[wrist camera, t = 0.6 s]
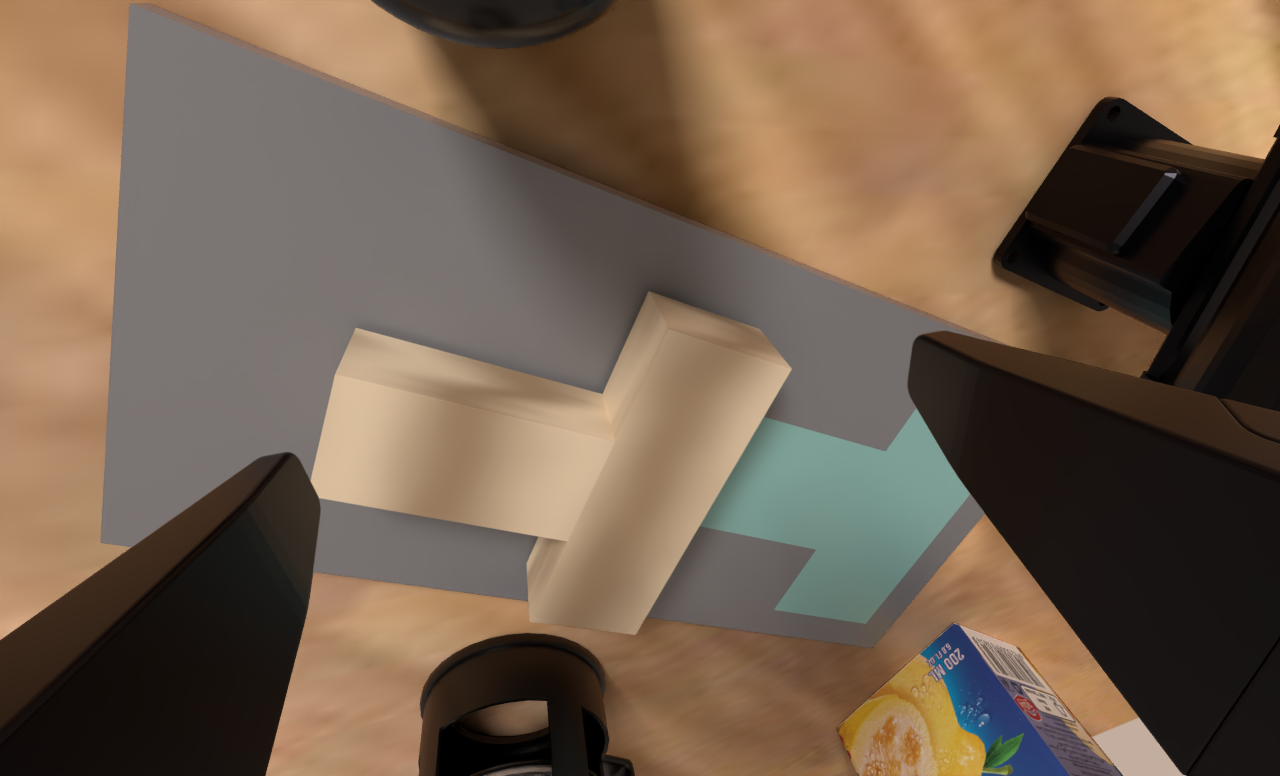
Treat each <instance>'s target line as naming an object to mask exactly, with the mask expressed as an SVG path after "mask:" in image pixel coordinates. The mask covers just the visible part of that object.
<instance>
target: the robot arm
mask: <svg viewBox="0 0 1280 776" xmlns="http://www.w3.org/2000/svg"><path fill="white" fill-rule="evenodd" d="M1110 109H1111V112H1110V114H1109V116H1108V117H1107V113H1108V111H1109V110H1110ZM1273 137H1276V138H1277V139H1276V140H1275V142H1274V144H1273V146H1272V148H1271V149H1270V151H1269V153H1268V155H1267V157H1266V158H1265V159H1260V158H1255V157H1250V156H1245V155H1240V154H1235V153H1230V152H1225V151H1220V150H1215V149H1210V148H1205V147H1200V146H1195V145H1192V144H1191V143H1189V142H1188V141H1186V140H1185V139H1183V138H1182V137H1180V136H1179V135H1177V134H1176V133H1174V132H1173V131H1171V130H1170V129H1168V128H1167V127H1165V126H1164V125H1162V124H1161V123H1159V122H1158V121H1156V120H1155V119H1153V118H1152V117H1150V116H1148V115H1147V114H1145V113H1144V112H1142V111H1141V110H1139V109H1138V108H1136V107H1135V106H1133V105H1132V104H1130V103H1129V102H1127V101H1126V100H1124V99H1121V98H1116V97H1106V98H1104V99H1102V100H1101V101H1099V103H1098V104H1097V105H1096V106H1095V107H1094V109H1093V110H1092V112H1091V113H1090V115H1089V116H1088V118H1087V119H1086V120H1085V122H1084V123H1083V125H1082V126H1081V128H1080V129H1079V131H1078V132H1077V134H1076V135H1075V137H1074V138H1073V139H1072V141H1071V142H1070V144H1069V145H1068V147H1067V148H1066V150H1065V151H1064V153H1063V154H1062V156H1061V157H1060V158H1059V160H1058V161H1057V163H1056V164H1055V166H1054V167H1053V169H1052V170H1051V172H1050V173H1049V175H1048V176H1047V177H1046V179H1045V180H1044V182H1043V183H1042V185H1041V186H1040V188H1039V189H1038V191H1037V192H1036V193H1035V195H1034V196H1033V198H1032V199H1031V201H1030V202H1029V204H1028V205H1027V207H1026V208H1025V210H1024V211H1023V212H1022V214H1021V215H1020V217H1019V218H1018V220H1017V221H1016V223H1015V224H1014V226H1013V227H1012V229H1011V230H1010V231H1009V233H1008V234H1007V236H1006V237H1005V239H1004V240H1003V242H1002V243H1001V245H1000V246H999V248H998V249H997V251H996V253H995V256H994V260H995V263H996V264H997V265H999V266H1000V267H1002V268H1004V269H1006V270H1009V271H1011V272H1013V273H1015V274H1017V275H1019V276H1022V277H1024V278H1026V279H1028V280H1030V281H1033V282H1035V283H1037V284H1039V285H1041V286H1043V287H1046V288H1048V289H1050V290H1052V291H1054V292H1056V293H1059V294H1061V295H1063V296H1065V297H1067V298H1070V299H1072V300H1074V301H1076V302H1078V303H1080V304H1083V305H1085V306H1087V307H1089V308H1091V309H1094V310H1096V311H1103V310H1105V309H1107V308H1108V307H1112V308H1114V309H1116V310H1118V311H1120V312H1122V313H1124V314H1126V315H1128V316H1130V317H1132V318H1134V319H1136V320H1138V321H1140V322H1142V323H1144V324H1146V325H1148V326H1150V327H1152V328H1154V329H1156V330H1158V331H1161V332H1163V333H1165V334H1167V336H1166V338H1165V340H1164V342H1163V344H1162V345H1161V347H1160V349H1159V351H1158V353H1157V354H1156V356H1155V358H1154V360H1153V362H1152V363H1151V365H1150V367H1149V369H1148V371H1143V373H1142V375H1141V377H1140V378H1138V377H1134V376H1130V375H1126V374H1122V373H1118V372H1113V371H1109V370H1105V369H1101V368H1097V367H1093V366H1089V365H1085V364H1081V363H1077V362H1073V361H1069V360H1064V359H1060V358H1056V357H1052V356H1048V355H1044V354H1040V353H1036V352H1032V351H1028V350H1024V349H1019V348H1015V347H1011V346H1007V345H1003V344H999V343H995V342H991V341H987V340H983V339H979V338H974V337H970V336H966V335H962V334H958V333H954V332H950V331H945V330H944V331H936V332H930V333H925V334H921V335H919V336H917V337H916V338H915V340H914V342H913V345H912V351H911V359H910V366H909V373H908V380H907V387H908V393H909V395H910V398H911V400H912V402H913V403H914V405H915V407H916V408H917V410H918V412H919V413H920V415H921V417H922V418H923V420H924V422H925V424H926V425H927V427H928V429H929V430H930V432H931V434H932V435H933V437H934V439H935V440H936V442H937V444H938V446H939V447H940V449H941V451H942V452H943V454H944V456H945V457H946V459H947V461H948V462H949V464H950V466H951V467H952V469H953V470H954V472H955V473H956V475H957V476H958V478H959V479H960V481H961V482H962V483H963V485H964V486H965V488H966V489H967V490H968V492H969V493H970V494H971V496H972V497H973V498H974V500H975V501H976V502H977V504H978V505H979V506H980V507H981V509H982V510H983V511H984V513H985V514H986V515H987V517H988V518H989V519H990V521H991V522H992V523H993V525H994V526H995V527H996V529H997V530H998V531H999V533H1000V534H1001V535H1002V537H1003V538H1004V539H1005V541H1006V542H1007V543H1008V545H1009V546H1010V547H1011V549H1012V550H1013V551H1014V553H1015V554H1016V555H1017V556H1018V558H1019V559H1020V560H1021V562H1022V563H1023V564H1024V566H1025V567H1026V568H1027V570H1028V571H1029V572H1030V574H1031V575H1032V576H1033V578H1034V579H1035V580H1036V582H1037V583H1038V584H1039V586H1040V587H1041V588H1042V590H1043V591H1044V592H1045V594H1046V595H1047V596H1048V598H1049V599H1050V600H1051V601H1052V603H1053V604H1054V605H1055V607H1056V608H1057V609H1058V611H1059V612H1060V613H1061V615H1062V616H1063V617H1064V619H1065V620H1066V621H1067V623H1068V624H1069V625H1070V627H1071V628H1072V629H1073V631H1074V632H1075V633H1076V635H1077V636H1078V637H1079V639H1080V640H1081V641H1082V643H1083V644H1084V645H1085V646H1086V648H1087V649H1088V650H1089V652H1090V653H1091V654H1092V656H1093V657H1094V658H1095V660H1096V661H1097V662H1098V664H1099V665H1100V666H1101V668H1102V669H1103V670H1104V672H1105V673H1106V674H1107V676H1108V677H1109V678H1110V680H1111V681H1112V682H1113V684H1114V685H1115V686H1116V688H1117V689H1118V690H1119V692H1120V693H1121V694H1122V695H1123V697H1124V698H1125V699H1126V701H1127V702H1128V703H1129V705H1130V706H1131V707H1132V709H1133V710H1134V711H1135V713H1136V714H1137V715H1138V717H1139V718H1140V719H1141V721H1142V722H1143V723H1144V725H1145V726H1146V727H1147V729H1148V730H1149V731H1150V733H1151V734H1152V735H1153V736H1154V738H1155V739H1156V740H1157V742H1158V743H1159V744H1160V746H1161V747H1162V748H1163V750H1164V751H1165V752H1166V754H1167V755H1168V756H1169V758H1170V759H1171V760H1172V762H1173V763H1174V764H1175V766H1176V767H1177V768H1178V770H1179V771H1180V772H1181V773H1182V774H1183V775H1186V776H1280V125H1279V127H1278V129H1277V131H1276V133H1275V135H1274V136H1273ZM1011 252H1012V254H1011V256H1010V257H1009V258H1008V259H1007V257H1008V255H1009V254H1010V253H1011ZM320 515H321V506H320V500H319V497H318V495H317V493H316V491H315V489H314V487H313V485H312V483H311V481H310V479H309V477H308V475H307V473H306V471H305V469H304V467H303V465H302V463H301V461H300V460H299V458H298V457H297V456H296V455H295V454H293V453H291V452H283V453H277V454H272V455H267V456H262V457H259V458H258V459H256V460H255V461H253V462H252V463H250V464H249V465H248V466H246V467H245V468H243V469H242V470H241V471H239V472H238V473H236V474H235V475H233V476H232V477H231V478H229V479H228V480H226V481H225V482H224V483H222V484H221V485H219V486H218V487H216V488H215V489H214V490H212V491H211V492H209V493H208V494H207V495H205V496H204V497H202V498H201V499H199V500H198V501H197V502H195V503H194V504H192V505H191V506H190V507H188V508H187V509H185V510H184V511H182V512H181V513H180V514H178V515H177V516H175V517H174V518H173V519H171V520H170V521H168V522H167V523H165V524H164V525H163V526H161V527H160V528H158V529H157V530H156V531H154V532H153V533H151V534H150V535H148V536H147V537H146V538H144V539H143V540H141V541H140V542H139V543H137V544H136V545H134V546H133V547H131V548H130V549H129V550H127V551H126V552H124V553H123V554H122V555H120V556H119V557H117V558H116V559H115V560H113V561H112V562H110V563H109V564H107V565H106V566H105V567H103V568H102V569H100V570H99V571H98V572H96V573H95V574H93V575H92V576H90V577H89V578H88V579H86V580H85V581H83V582H82V583H81V584H79V585H78V586H76V587H75V588H73V589H72V590H71V591H69V592H68V593H66V594H65V595H64V596H62V597H61V598H59V599H58V600H56V601H55V602H54V603H52V604H51V605H49V606H48V607H47V608H45V609H44V610H42V611H41V612H39V613H38V614H37V615H35V616H34V617H32V618H31V619H30V620H28V621H27V622H25V623H24V624H22V625H21V626H20V627H18V628H17V629H15V630H14V631H13V632H11V633H10V634H8V635H7V636H5V637H4V638H3V639H1V640H0V776H265V775H266V771H267V767H268V763H269V760H270V756H271V752H272V748H273V744H274V740H275V736H276V732H277V729H278V725H279V721H280V717H281V713H282V709H283V705H284V701H285V697H286V694H287V690H288V686H289V682H290V678H291V674H292V670H293V666H294V662H295V659H296V655H297V651H298V647H299V643H300V639H301V635H302V631H303V627H304V623H305V619H306V615H307V610H308V604H309V598H310V592H311V584H312V577H313V569H314V561H315V554H316V546H317V538H318V531H319V523H320Z"/></svg>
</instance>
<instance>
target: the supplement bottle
mask: <svg viewBox="0 0 1280 776" xmlns="http://www.w3.org/2000/svg"><path fill="white" fill-rule="evenodd" d="M371 1H372V2H373V3H375V4H376V5H377V6H379V7H380V8H382V9H384V10H385V11H387V12H388V13H390V14H391V15H393V16H394V17H396V18H398V19H400V20H401V21H403V22H405V23H407V24H409V25H411V26H413V27H415V28H417V29H419V30H421V31H424V32H426V33H429V34H431V35H434V36H436V37H439V38H442V39H445V40H449V41H452V42H455V43H459V44H464V45H469V46H474V47H481V48H493V49H517V48H525V47H532V46H538V45H542V44H546V43H550V42H554V41H556V40H559V39H562V38H564V37H567V36H570V35H572V34H574V33H576V32H578V31H580V30H582V29H584V28H586V27H588V26H590V25H591V24H593V23H594V22H596V21H597V20H599V19H601V18H602V17H604V16H605V15H606V14H608V13H609V12H610V11H611V10H613V9H614V8H615V7H616V6H617V5H619V4H620V3H621V2H622V1H623V0H371Z"/></svg>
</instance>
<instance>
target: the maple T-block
mask: <svg viewBox="0 0 1280 776" xmlns="http://www.w3.org/2000/svg"><path fill="white" fill-rule="evenodd" d="M791 370H792V368H791V367H790V366H789V365H788V363H787V362H786V361H785V360H784V358H783V357H782V356H781V355H780V354H779V352H778V351H777V350H776V349H775V347H774V346H773V345H772V344H771V342H770V341H769V340H768V339H767V337H766V336H765V335H764V334H763V333H762V331H761V330H760V329H758V328H755V327H752V326H749V325H746V324H744V323H741V322H738V321H735V320H732V319H729V318H726V317H723V316H720V315H717V314H714V313H711V312H709V311H706V310H703V309H700V308H697V307H694V306H691V305H688V304H685V303H682V302H679V301H676V300H673V299H671V298H668V297H665V296H662V295H659V294H656V293H653V292H650V291H648V294H647V296H646V298H645V300H644V303H643V305H642V307H641V309H640V312H639V314H638V316H637V318H636V320H635V323H634V325H633V327H632V329H631V332H630V334H629V336H628V338H627V341H626V343H625V345H624V347H623V349H622V352H621V354H620V356H619V358H618V361H617V363H616V365H615V367H614V369H613V372H612V374H611V376H610V378H609V381H608V383H607V385H606V387H605V390H604V392H603V394H600V393H597V392H593V391H589V390H585V389H582V388H578V387H574V386H571V385H567V384H563V383H559V382H556V381H552V380H548V379H545V378H541V377H537V376H534V375H530V374H526V373H522V372H519V371H515V370H511V369H508V368H504V367H500V366H496V365H493V364H489V363H485V362H482V361H478V360H474V359H470V358H467V357H463V356H459V355H456V354H452V353H448V352H444V351H441V350H437V349H433V348H430V347H426V346H422V345H418V344H415V343H411V342H407V341H404V340H400V339H396V338H392V337H389V336H385V335H381V334H378V333H374V332H370V331H366V330H363V329H359V328H355V331H354V333H353V335H352V337H351V340H350V342H349V344H348V346H347V349H346V351H345V353H344V355H343V358H342V360H341V362H340V364H339V366H338V369H337V371H336V373H335V377H334V381H333V385H332V390H331V394H330V398H329V403H328V407H327V411H326V416H325V420H324V424H323V429H322V433H321V437H320V442H319V446H318V450H317V455H316V459H315V463H314V468H313V472H312V476H311V483H312V485H313V487H314V489H315V491H316V493H317V495H318V497H319V498H322V499H327V500H333V501H339V502H344V503H350V504H356V505H362V506H367V507H373V508H379V509H384V510H390V511H396V512H401V513H407V514H413V515H419V516H424V517H430V518H436V519H441V520H447V521H453V522H459V523H464V524H470V525H476V526H481V527H487V528H493V529H498V530H504V531H510V532H516V533H521V534H527V535H533V536H538V539H537V541H536V543H535V546H534V548H533V550H532V552H531V555H530V557H529V559H528V561H527V584H528V604H529V622H535V623H543V624H551V625H559V626H567V627H575V628H583V629H591V630H599V631H607V632H615V633H623V634H631V635H636V633H637V632H638V630H639V628H640V627H641V625H642V623H643V621H644V620H645V618H646V616H647V615H648V613H649V611H650V610H651V608H652V606H653V604H654V603H655V601H656V599H657V598H658V596H659V594H660V593H661V591H662V589H663V587H664V586H665V584H666V582H667V581H668V579H669V577H670V576H671V574H672V572H673V570H674V569H675V567H676V565H677V564H678V562H679V560H680V559H681V557H682V555H683V553H684V552H685V550H686V548H687V547H688V545H689V543H690V542H691V540H692V538H693V536H694V535H695V533H696V531H697V530H698V528H699V526H700V525H701V523H702V521H703V519H704V518H705V516H706V514H707V513H708V511H709V509H710V507H711V506H712V504H713V502H714V501H715V499H716V497H717V496H718V494H719V492H720V490H721V489H722V487H723V485H724V484H725V482H726V480H727V479H728V477H729V475H730V473H731V472H732V470H733V468H734V467H735V465H736V463H737V462H738V460H739V458H740V456H741V455H742V453H743V451H744V450H745V448H746V446H747V445H748V443H749V441H750V439H751V438H752V436H753V434H754V433H755V431H756V429H757V428H758V426H759V424H760V422H761V421H762V419H763V417H764V416H765V414H766V412H767V411H768V409H769V407H770V405H771V404H772V402H773V400H774V399H775V397H776V395H777V394H778V392H779V390H780V388H781V387H782V385H783V383H784V382H785V380H786V378H787V377H788V375H789V373H790V371H791Z"/></svg>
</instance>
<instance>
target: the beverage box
mask: <svg viewBox="0 0 1280 776" xmlns="http://www.w3.org/2000/svg"><path fill="white" fill-rule="evenodd" d="M836 729H837V732H838V734H839V736H840V738H841V740H842V742H843V744H844V746H845V749H846V751H847V753H848V755H849V757H850V759H851V761H852V764H853V766H854V768H855V770H856V772H857V774H858V776H1123V775H1122V774H1121V773H1120V771H1119V770H1118V769H1117V768H1116V766H1114V764H1113V763H1112V762H1111V760H1110V759H1109V758H1108V757H1107V756H1106V754H1105V753H1104V752H1103V751H1102V749H1101V748H1100V747H1099V746H1098V744H1097V743H1096V742H1095V741H1094V739H1093V738H1092V737H1091V736H1090V734H1089V733H1088V732H1087V731H1086V730H1085V728H1084V727H1083V726H1082V725H1081V723H1080V722H1079V721H1078V720H1077V718H1076V717H1075V716H1074V715H1073V714H1072V712H1071V711H1070V710H1069V709H1068V707H1067V706H1066V705H1065V704H1064V702H1063V701H1062V700H1061V699H1060V698H1059V696H1058V695H1057V694H1056V693H1055V691H1054V690H1053V689H1052V688H1051V686H1050V685H1049V684H1048V683H1047V682H1046V680H1045V679H1044V678H1043V677H1042V675H1041V674H1040V673H1039V672H1038V670H1037V669H1036V668H1035V667H1034V666H1033V664H1032V663H1031V662H1030V661H1029V659H1028V658H1027V657H1026V656H1025V654H1024V653H1023V652H1022V651H1021V650H1020V648H1019V647H1016V646H1014V645H1011V644H1008V643H1006V642H1003V641H1000V640H998V639H995V638H993V637H990V636H987V635H985V634H982V633H979V632H977V631H974V630H972V629H969V628H966V627H964V626H961V625H959V624H956V623H952V624H951V625H950V626H949V627H948V628H947V629H946V630H945V631H943V632H942V633H941V634H940V635H939V636H938V637H937V638H936V639H935V640H933V641H932V642H931V643H930V644H929V645H928V646H927V647H926V648H925V649H923V650H922V651H921V652H920V653H919V654H918V655H917V656H916V657H914V658H913V659H912V660H911V661H910V662H909V663H908V664H907V665H906V666H904V667H903V668H902V669H901V670H900V671H899V672H898V673H897V674H896V675H894V676H893V677H892V678H891V679H890V680H889V681H888V682H887V683H886V684H884V685H883V686H882V687H881V688H880V689H879V690H878V691H877V692H875V693H874V694H873V695H872V696H871V697H870V698H869V699H868V700H867V701H865V702H864V703H863V704H862V705H861V706H860V707H859V708H858V709H857V710H855V711H854V712H853V713H852V714H851V715H850V716H849V717H848V718H847V719H845V720H844V721H843V722H842V723H841V724H840V725H839V726H838V727H836Z"/></svg>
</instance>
